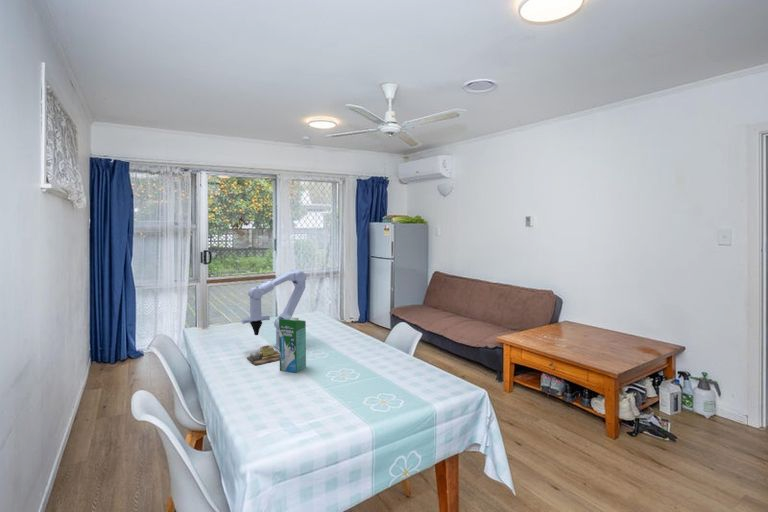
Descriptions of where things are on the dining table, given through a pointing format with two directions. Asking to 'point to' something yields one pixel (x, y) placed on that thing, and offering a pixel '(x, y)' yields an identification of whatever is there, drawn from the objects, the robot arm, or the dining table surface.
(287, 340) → the milk carton
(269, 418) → the dining table surface
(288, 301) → the robot arm
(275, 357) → the pipe board
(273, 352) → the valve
